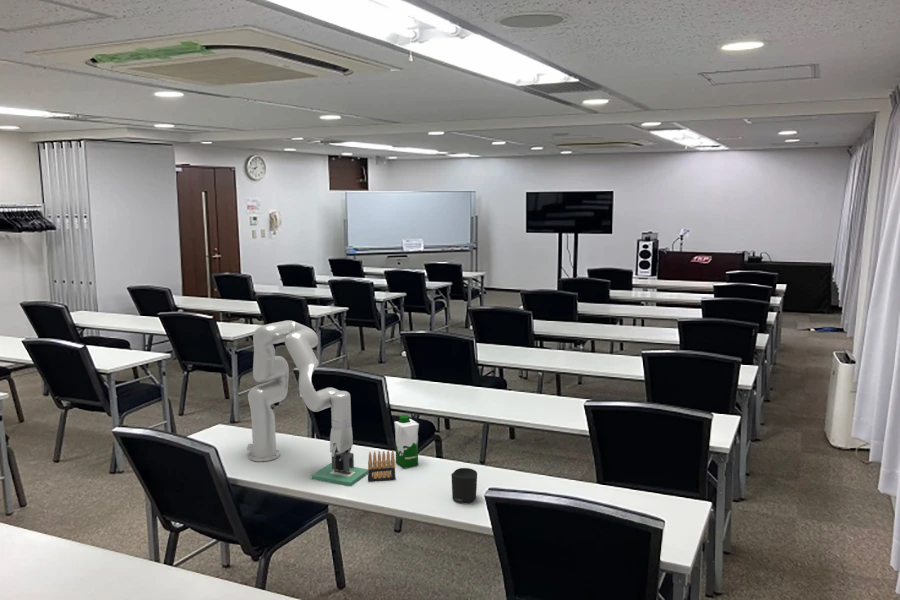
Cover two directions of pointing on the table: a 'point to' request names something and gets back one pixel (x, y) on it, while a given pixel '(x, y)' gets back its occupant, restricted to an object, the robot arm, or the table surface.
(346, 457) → the block
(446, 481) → the table surface
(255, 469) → the table surface
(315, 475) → the header board
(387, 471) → the ammunition clip
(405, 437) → the milk carton
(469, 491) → the pen holder
